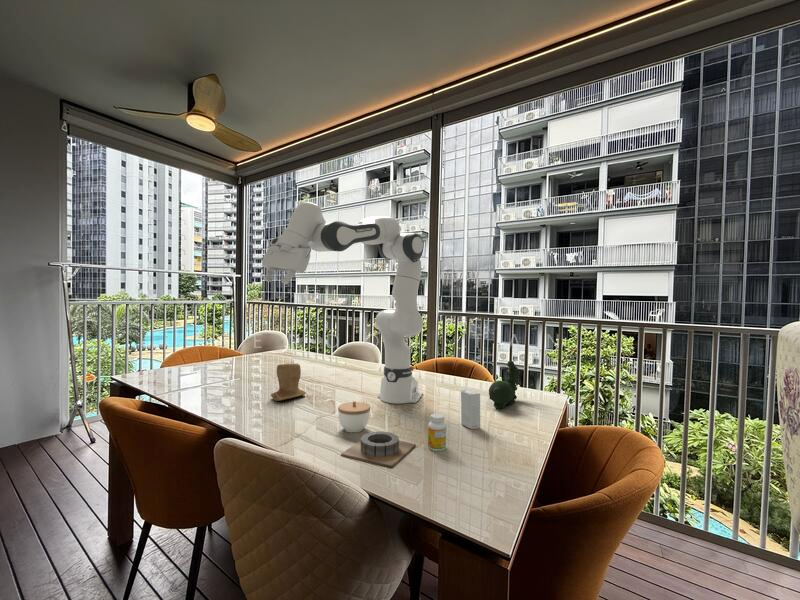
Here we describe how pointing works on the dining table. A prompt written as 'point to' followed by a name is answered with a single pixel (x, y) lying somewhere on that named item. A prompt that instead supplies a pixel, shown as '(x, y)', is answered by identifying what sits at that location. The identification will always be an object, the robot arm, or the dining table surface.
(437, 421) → the supplement bottle
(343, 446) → the dining table surface
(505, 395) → the toy figurine
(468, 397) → the skincare box
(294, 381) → the brown flared stand
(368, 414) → the lidded jar
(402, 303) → the robot arm
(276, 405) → the dining table surface
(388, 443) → the grey ring on slab
